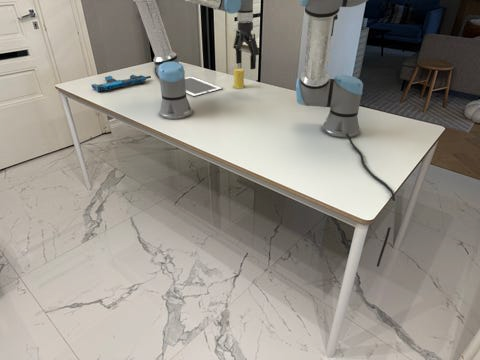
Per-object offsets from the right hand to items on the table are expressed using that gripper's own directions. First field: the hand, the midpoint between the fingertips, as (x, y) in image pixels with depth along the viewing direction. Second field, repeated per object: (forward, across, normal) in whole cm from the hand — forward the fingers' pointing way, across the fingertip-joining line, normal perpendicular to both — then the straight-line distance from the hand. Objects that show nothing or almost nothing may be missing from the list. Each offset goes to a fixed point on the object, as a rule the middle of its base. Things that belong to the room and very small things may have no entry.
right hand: (323, 33), depth 161 cm
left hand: (+17, -15, -34) cm, 41 cm away
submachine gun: (+34, -55, -104) cm, 122 cm away
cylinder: (+34, -34, -34) cm, 59 cm away
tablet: (+34, -41, -61) cm, 81 cm away
